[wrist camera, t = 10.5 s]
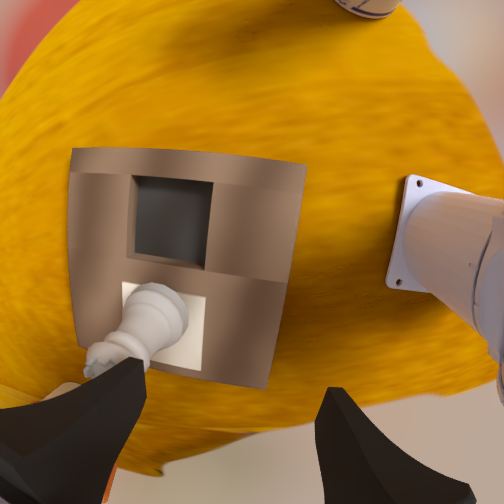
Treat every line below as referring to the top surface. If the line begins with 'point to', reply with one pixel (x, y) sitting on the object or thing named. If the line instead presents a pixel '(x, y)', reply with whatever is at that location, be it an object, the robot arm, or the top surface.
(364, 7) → the energy drink
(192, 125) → the top surface
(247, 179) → the hole board
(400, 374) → the top surface
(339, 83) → the top surface
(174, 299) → the rook chess piece
